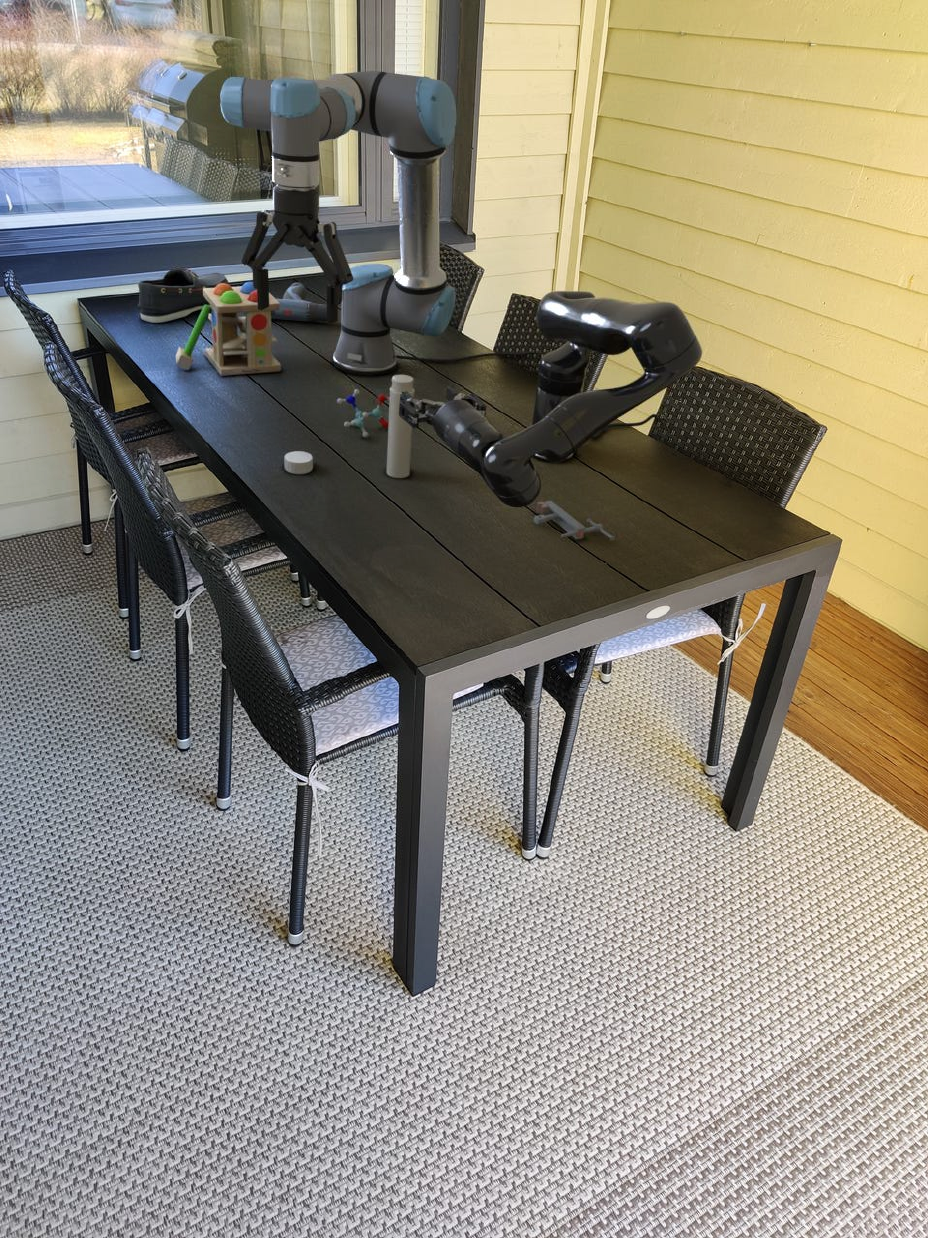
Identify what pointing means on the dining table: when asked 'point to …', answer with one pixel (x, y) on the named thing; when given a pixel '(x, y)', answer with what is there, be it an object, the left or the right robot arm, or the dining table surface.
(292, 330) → the dining table surface
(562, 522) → the clamp
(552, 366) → the right robot arm
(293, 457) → the lid
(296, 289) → the power drill
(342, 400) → the molecular model
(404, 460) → the jar
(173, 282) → the boat shoe
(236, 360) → the pounding bench toy
